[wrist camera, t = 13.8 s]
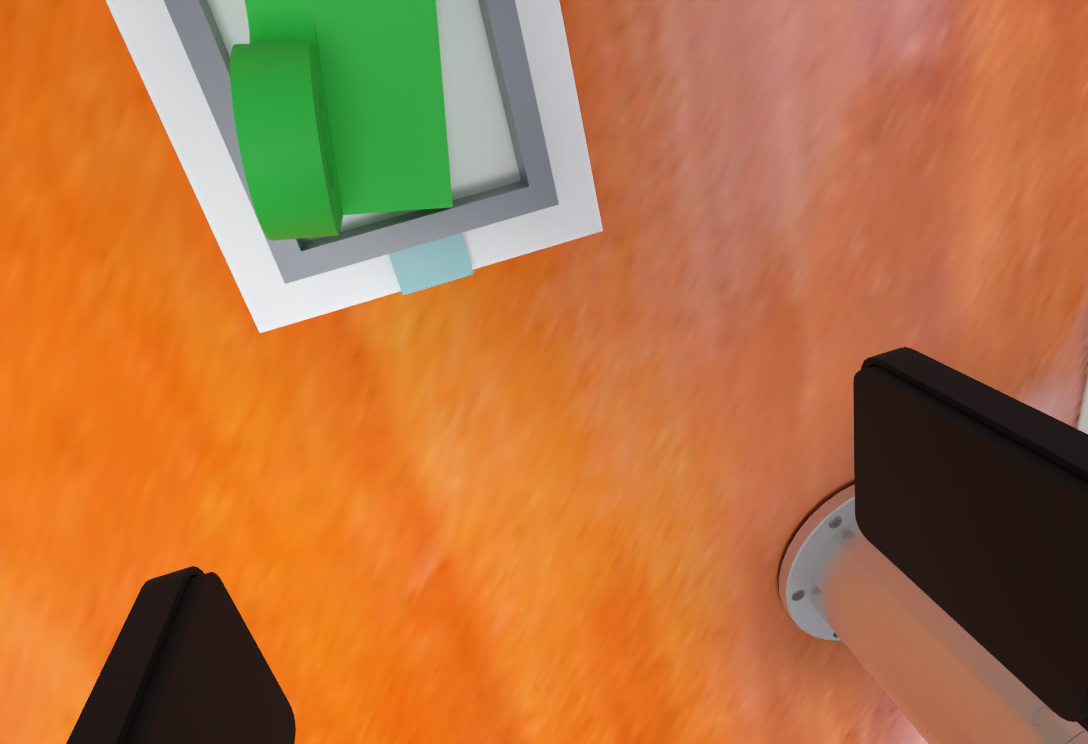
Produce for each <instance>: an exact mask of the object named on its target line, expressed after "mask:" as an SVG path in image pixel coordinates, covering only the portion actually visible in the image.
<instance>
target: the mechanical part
mask: <svg viewBox="0 0 1088 744" xmlns="http://www.w3.org/2000/svg"><path fill="white" fill-rule="evenodd" d="M245 5H246V11H247V17H248V24H249V35H250V43H249V44H234V45H233V47H232V50H231V57H230V82H231V95H232V104H233V112H234V120H235V126H236V133H237V138H238V144H239V149H240V155H241V159H242V164H243V169H244V173H245V177H246V181H247V185H248V189H249V192H250V196H251V199H252V203H253V206H254V209H255V212H256V215H257V217H258V220H259V223H260V225H261V227H262V229H263V231H264V233H265V235H266V236H267V238H268V239H269V240H271V241H274V240H287V239H300V238H313V237H326V236H339V235H340V232H341V225H342V219H343V215H352V214H366V213H380V212H395V211H409V210H423V209H437V208H451V207H453V203H452V191H451V178H450V166H449V154H448V142H447V130H446V118H445V106H444V93H443V81H442V69H441V57H440V45H439V33H438V21H437V8H436V0H245Z"/></svg>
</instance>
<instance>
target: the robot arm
mask: <svg viewBox="0 0 1088 744" xmlns="http://www.w3.org/2000/svg"><path fill="white" fill-rule="evenodd" d="M854 471H855V484H854V485H852V486H850V487H848V488H846V489H844V490H842V491H841V492H839V493H837V494H836V495H835V496H833V497H832V498H831V499H829V500H828V501H826V502H825V503H824V504H823V505H822V506H821V507H819V508H818V509H817V510H816V511H815V512H814V513H813V514H812V515H811V516H810V517H809V518H808V519H807V521H806V522H805V523H804V524H803V526H802V527H801V528H800V529H799V531H798V532H797V533H796V535H795V537H794V539H793V540H792V542H791V544H790V545H789V547H788V549H787V552H786V554H785V557H784V559H783V562H782V565H781V570H780V575H779V594H780V598H781V601H782V605H783V607H784V608H785V610H786V611H787V613H788V615H789V616H790V617H791V618H792V620H793V621H794V622H795V623H796V624H797V625H798V627H799V628H800V629H801V630H803V631H805V632H806V633H808V634H809V635H811V636H814V637H817V638H820V639H823V640H832V641H842V642H843V643H844V644H845V645H846V647H847V648H848V649H849V650H850V651H851V653H852V654H853V655H854V656H855V657H856V658H857V660H858V661H859V662H860V663H861V664H862V666H863V667H864V668H865V669H866V670H867V671H868V673H869V674H870V675H871V676H872V677H873V679H874V680H875V681H876V682H877V683H878V684H879V686H880V687H881V688H882V689H883V690H884V692H885V693H886V694H887V695H888V696H889V697H890V699H891V700H892V701H893V702H894V703H895V705H896V706H897V707H898V708H899V709H900V710H901V712H902V713H903V714H904V715H905V716H906V718H907V719H908V720H909V721H910V722H911V724H912V725H913V726H914V727H915V728H916V729H917V731H918V732H919V733H920V734H921V735H922V737H923V738H924V739H925V740H926V741H927V742H928V744H1088V434H1086V433H1084V432H1082V431H1080V430H1078V429H1076V428H1073V427H1071V426H1069V425H1067V424H1065V423H1063V422H1061V421H1059V420H1057V419H1055V418H1053V417H1051V416H1049V415H1047V414H1045V413H1043V412H1041V411H1039V410H1036V409H1034V408H1032V407H1030V406H1028V405H1026V404H1024V403H1022V402H1020V401H1018V400H1016V399H1014V398H1012V397H1010V396H1008V395H1006V394H1004V393H1002V392H999V391H997V390H995V389H993V388H991V387H989V386H987V385H985V384H983V383H981V382H979V381H977V380H975V379H973V378H971V377H969V376H967V375H965V374H962V373H960V372H958V371H956V370H954V369H952V368H950V367H948V366H946V365H944V364H942V363H940V362H938V361H936V360H934V359H932V358H930V357H928V356H925V355H923V354H921V353H919V352H917V351H915V350H913V349H910V348H907V347H904V348H899V349H895V350H892V351H889V352H886V353H882V354H879V355H876V356H873V357H870V358H867V359H866V360H865V361H864V362H863V364H862V366H861V370H860V371H858V372H857V373H856V375H855V377H854ZM295 731H296V729H295V719H294V714H293V711H292V708H291V706H290V704H289V702H288V700H287V698H286V696H285V695H284V693H283V691H282V689H281V687H280V686H279V684H278V682H277V680H276V678H275V677H274V675H273V673H272V671H271V669H270V668H269V666H268V664H267V662H266V660H265V658H264V657H263V655H262V653H261V651H260V649H259V648H258V646H257V644H256V642H255V640H254V639H253V637H252V635H251V633H250V631H249V630H248V628H247V626H246V624H245V622H244V620H243V619H242V617H241V615H240V613H239V611H238V610H237V608H236V606H235V604H234V602H233V601H232V599H231V597H230V595H229V593H228V592H227V590H226V588H225V586H224V584H223V583H222V581H221V579H220V578H219V576H218V575H217V574H215V573H213V572H210V573H206V574H204V573H203V571H202V570H200V569H199V568H198V567H194V566H192V567H189V568H185V569H182V570H179V571H176V572H172V573H169V574H166V575H163V576H159V577H156V578H153V579H150V580H148V581H146V582H145V584H144V585H143V587H142V588H141V590H140V592H139V595H138V597H137V599H136V601H135V603H134V605H133V607H132V609H131V611H130V613H129V615H128V617H127V619H126V621H125V623H124V626H123V628H122V630H121V632H120V634H119V636H118V638H117V640H116V642H115V644H114V646H113V648H112V650H111V652H110V655H109V657H108V659H107V661H106V663H105V665H104V667H103V669H102V671H101V673H100V675H99V677H98V679H97V681H96V683H95V686H94V688H93V690H92V692H91V694H90V696H89V698H88V700H87V702H86V704H85V706H84V708H83V710H82V712H81V715H80V717H79V719H78V721H77V723H76V725H75V727H74V729H73V731H72V733H71V735H70V737H69V739H68V741H67V743H66V744H294V742H295Z"/></svg>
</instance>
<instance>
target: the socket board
mask: <svg viewBox="0 0 1088 744" xmlns="http://www.w3.org/2000/svg"><path fill="white" fill-rule="evenodd" d="M106 2H107V4H108V7H109V9H110V11H111V13H112V15H113V17H114V20H115V22H116V24H117V26H118V28H119V30H120V33H121V35H122V37H123V39H124V41H125V43H126V45H127V48H128V50H129V52H130V54H131V56H132V58H133V61H134V63H135V65H136V67H137V69H138V71H139V74H140V76H141V78H142V80H143V82H144V84H145V87H146V89H147V91H148V93H149V95H150V97H151V99H152V102H153V104H154V106H155V108H156V110H157V112H158V115H159V117H160V119H161V121H162V123H163V125H164V128H165V130H166V132H167V134H168V136H169V138H170V141H171V143H172V145H173V147H174V149H175V151H176V153H177V156H178V158H179V160H180V162H181V164H182V166H183V169H184V171H185V173H186V175H187V177H188V179H189V182H190V184H191V186H192V188H193V190H194V192H195V195H196V197H197V199H198V201H199V203H200V205H201V207H202V210H203V212H204V214H205V216H206V218H207V220H208V223H209V225H210V227H211V229H212V231H213V233H214V236H215V238H216V240H217V242H218V244H219V246H220V249H221V251H222V253H223V255H224V257H225V259H226V261H227V264H228V266H229V268H230V270H231V272H232V274H233V277H234V279H235V281H236V283H237V285H238V287H239V290H240V292H241V294H242V296H243V298H244V300H245V303H246V305H247V307H248V309H249V311H250V313H251V315H252V318H253V320H254V322H255V324H256V326H257V328H258V331H259V333H262V332H266V331H269V330H272V329H276V328H279V327H282V326H286V325H289V324H292V323H296V322H299V321H303V320H306V319H309V318H313V317H316V316H319V315H323V314H326V313H329V312H333V311H336V310H339V309H343V308H346V307H350V306H353V305H356V304H360V303H363V302H366V301H370V300H373V299H376V298H380V297H383V296H386V295H390V294H393V293H397V292H400V291H401V292H402V294H403V295H406V294H410V293H413V292H416V291H420V290H423V289H426V288H430V287H433V286H436V285H440V284H443V283H447V282H450V281H453V280H457V279H460V278H463V277H467V276H470V275H473V274H474V273H473V270H474V269H477V268H480V267H484V266H487V265H490V264H494V263H497V262H501V261H504V260H507V259H511V258H514V257H517V256H521V255H524V254H527V253H531V252H534V251H537V250H541V249H544V248H548V247H551V246H554V245H558V244H561V243H564V242H568V241H571V240H574V239H578V238H581V237H584V236H588V235H591V234H595V233H598V232H601V231H603V228H602V223H601V218H600V212H599V207H598V202H597V197H596V191H595V186H594V181H593V176H592V170H591V165H590V160H589V154H588V149H587V144H586V139H585V133H584V128H583V123H582V117H581V112H580V107H579V102H578V96H577V91H576V86H575V80H574V75H573V70H572V65H571V59H570V54H569V49H568V44H567V38H566V33H565V28H564V22H563V17H562V12H561V7H560V1H559V0H436V8H437V21H438V33H439V45H440V57H441V69H442V81H443V93H444V106H445V118H446V130H447V142H448V154H449V166H450V178H451V191H452V203H453V207H451V208H437V209H423V210H409V211H395V212H380V213H366V214H352V215H343V219H342V225H341V232H340V235H339V236H326V237H313V238H300V239H287V240H274V241H271V240H269V239H268V238H267V236H266V235H265V233H264V231H263V229H262V227H261V225H260V223H259V220H258V217H257V215H256V212H255V209H254V206H253V203H252V199H251V196H250V192H249V189H248V185H247V181H246V177H245V173H244V169H243V164H242V159H241V155H240V149H239V144H238V138H237V133H236V126H235V120H234V112H233V104H232V95H231V82H230V57H231V50H232V47H233V45H234V44H249V43H250V35H249V24H248V17H247V11H246V5H245V0H106Z"/></svg>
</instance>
